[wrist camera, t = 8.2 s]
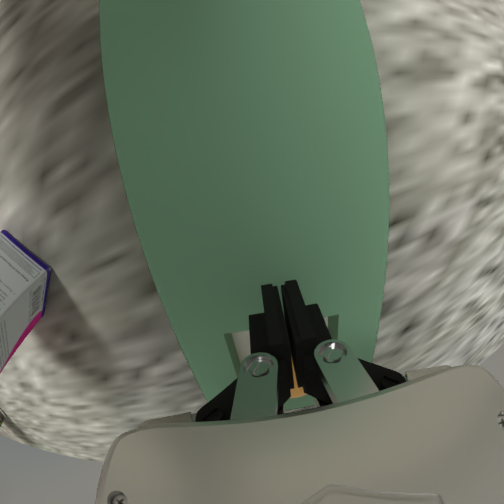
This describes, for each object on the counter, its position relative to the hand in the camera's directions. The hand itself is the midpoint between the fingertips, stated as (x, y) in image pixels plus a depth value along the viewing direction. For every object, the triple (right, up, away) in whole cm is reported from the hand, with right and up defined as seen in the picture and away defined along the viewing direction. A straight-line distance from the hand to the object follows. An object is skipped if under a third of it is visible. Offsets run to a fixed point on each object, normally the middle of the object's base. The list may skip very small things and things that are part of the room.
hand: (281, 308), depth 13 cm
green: (-1, +5, +2) cm, 5 cm away
